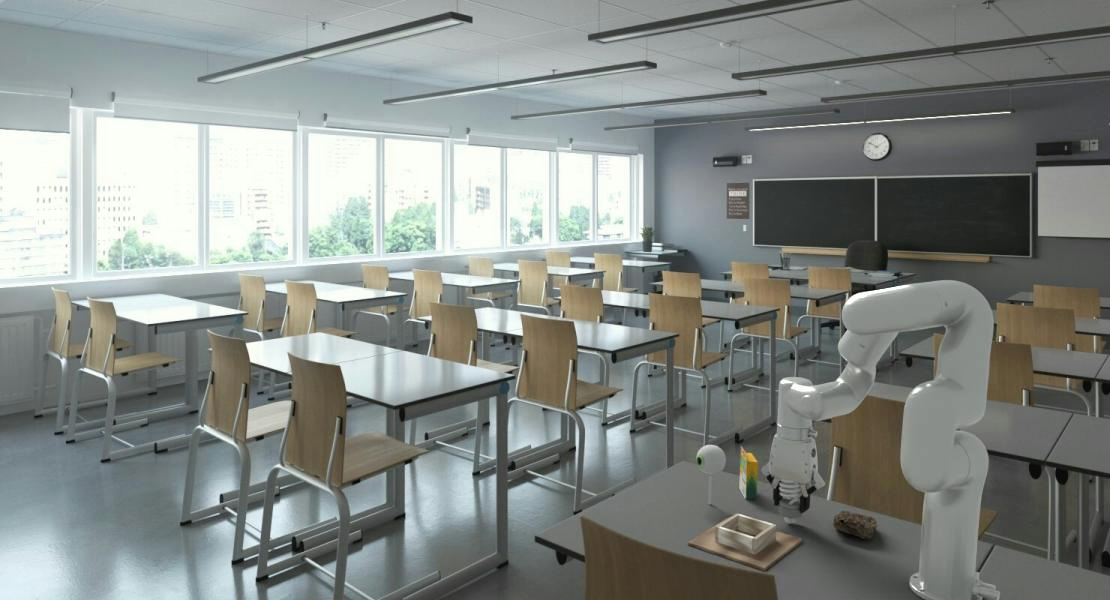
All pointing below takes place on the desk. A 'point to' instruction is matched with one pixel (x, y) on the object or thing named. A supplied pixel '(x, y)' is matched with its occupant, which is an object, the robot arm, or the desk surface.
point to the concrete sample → (855, 524)
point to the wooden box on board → (746, 541)
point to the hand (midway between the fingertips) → (790, 506)
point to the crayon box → (748, 475)
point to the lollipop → (711, 462)
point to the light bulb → (790, 500)
